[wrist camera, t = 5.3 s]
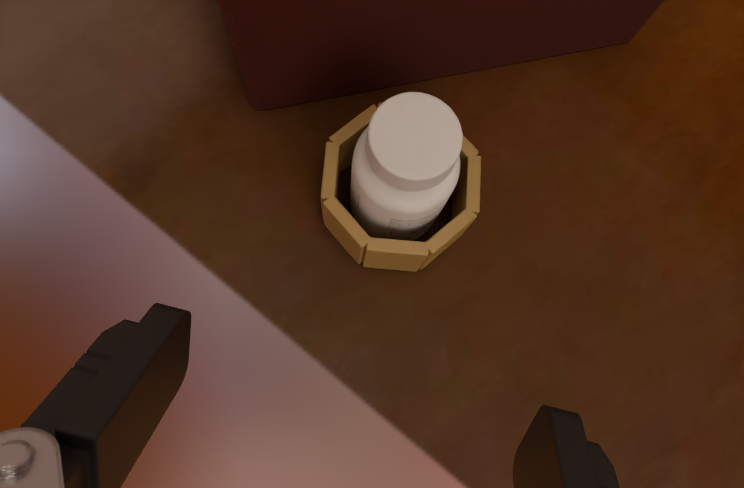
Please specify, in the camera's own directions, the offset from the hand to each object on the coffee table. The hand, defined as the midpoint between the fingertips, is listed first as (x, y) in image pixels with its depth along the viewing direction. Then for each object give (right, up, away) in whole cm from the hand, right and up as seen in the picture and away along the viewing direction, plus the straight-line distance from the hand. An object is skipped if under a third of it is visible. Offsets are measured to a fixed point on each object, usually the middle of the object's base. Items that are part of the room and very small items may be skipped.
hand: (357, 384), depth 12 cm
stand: (+1, +5, +15) cm, 16 cm away
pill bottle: (+1, +5, +15) cm, 16 cm away
